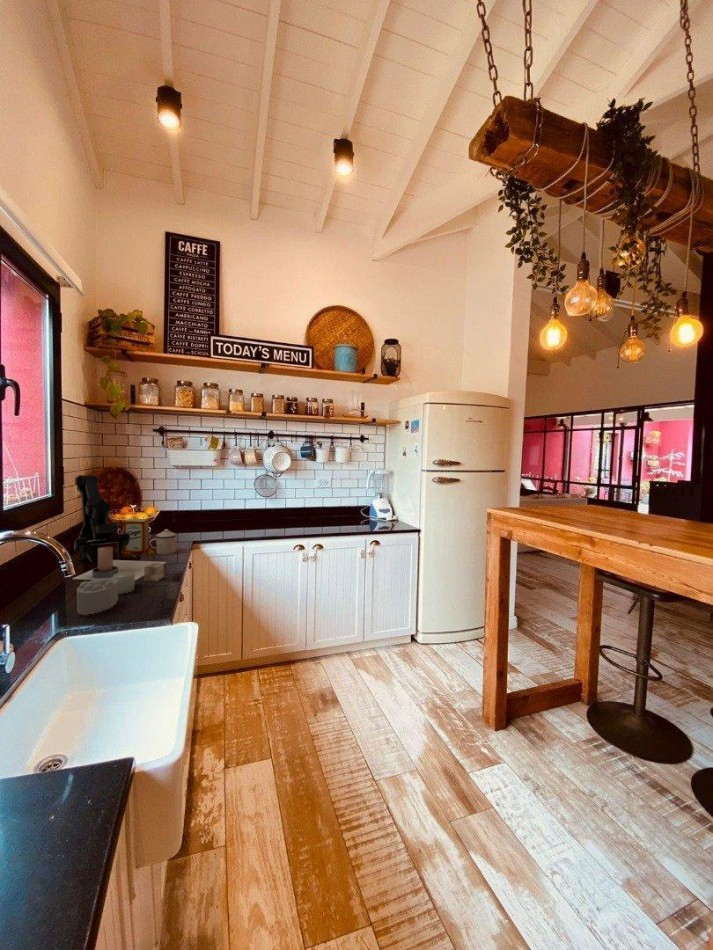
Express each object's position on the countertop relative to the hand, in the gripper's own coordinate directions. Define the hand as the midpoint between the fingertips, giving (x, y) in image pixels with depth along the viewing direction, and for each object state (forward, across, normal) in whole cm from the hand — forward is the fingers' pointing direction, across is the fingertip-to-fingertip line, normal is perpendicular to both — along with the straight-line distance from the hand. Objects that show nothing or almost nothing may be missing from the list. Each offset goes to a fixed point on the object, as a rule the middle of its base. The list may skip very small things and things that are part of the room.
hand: (106, 559), depth 158 cm
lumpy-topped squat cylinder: (+26, -8, -14) cm, 30 cm away
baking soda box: (-22, +20, +34) cm, 45 cm away
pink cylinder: (+4, 0, +6) cm, 7 cm away
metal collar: (+4, 0, +6) cm, 7 cm away
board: (+2, +7, +9) cm, 12 cm away
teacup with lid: (-14, +30, +26) cm, 42 cm away
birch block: (+16, +14, -4) cm, 21 cm away
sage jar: (+18, +2, -6) cm, 19 cm away
